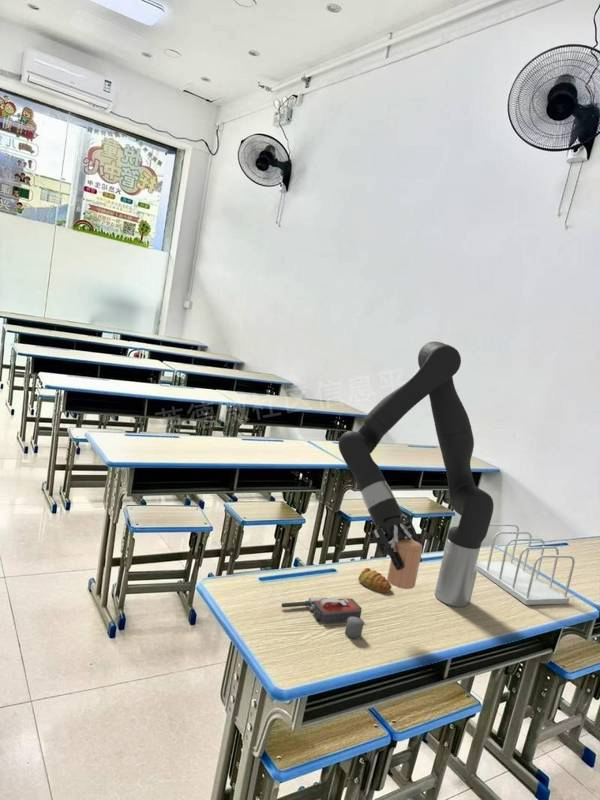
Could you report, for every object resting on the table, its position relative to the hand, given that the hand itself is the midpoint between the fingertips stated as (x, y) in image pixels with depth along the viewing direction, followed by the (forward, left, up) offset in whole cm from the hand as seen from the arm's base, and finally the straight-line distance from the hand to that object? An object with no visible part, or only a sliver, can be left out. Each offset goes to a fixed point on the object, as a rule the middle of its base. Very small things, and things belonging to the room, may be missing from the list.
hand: (410, 565), depth 131 cm
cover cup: (0, -2, -5) cm, 5 cm away
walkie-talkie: (+15, -10, -17) cm, 25 cm away
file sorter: (-60, -15, -17) cm, 64 cm away
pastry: (-8, -22, -17) cm, 29 cm away
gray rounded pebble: (+13, 0, -17) cm, 21 cm away
